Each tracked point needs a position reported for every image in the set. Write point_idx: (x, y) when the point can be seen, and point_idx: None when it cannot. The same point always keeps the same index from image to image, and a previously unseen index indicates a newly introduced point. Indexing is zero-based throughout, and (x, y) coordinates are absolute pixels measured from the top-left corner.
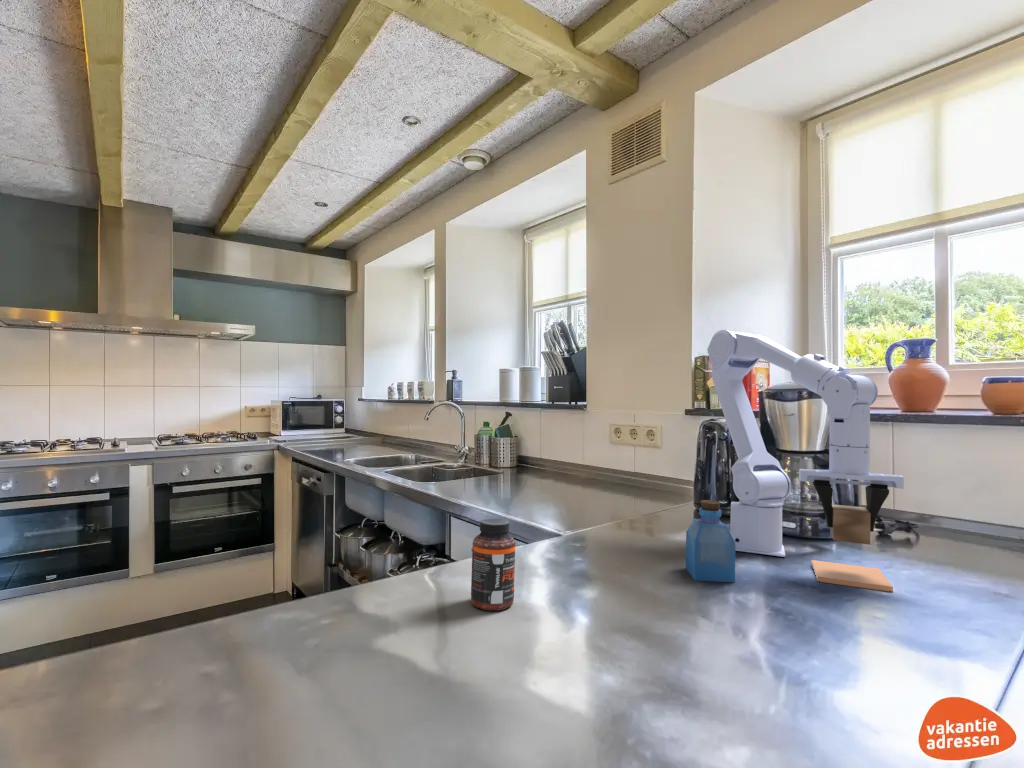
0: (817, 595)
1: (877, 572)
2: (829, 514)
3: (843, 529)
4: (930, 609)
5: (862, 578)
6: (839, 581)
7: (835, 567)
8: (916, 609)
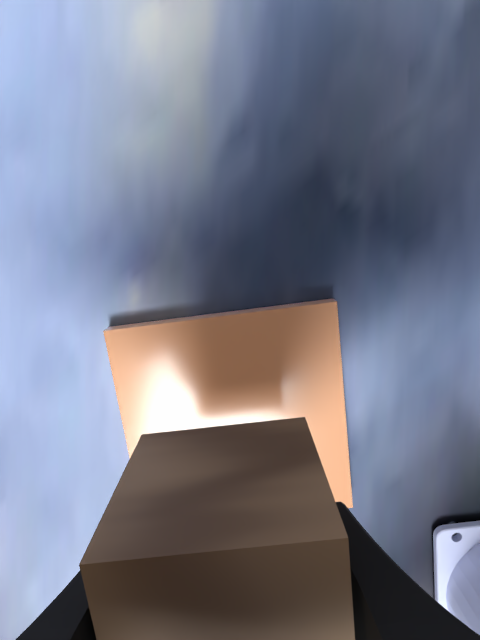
0: (336, 121)
1: None
2: (360, 550)
3: (264, 456)
4: (6, 203)
5: (193, 371)
6: (265, 308)
7: None
8: (44, 173)
